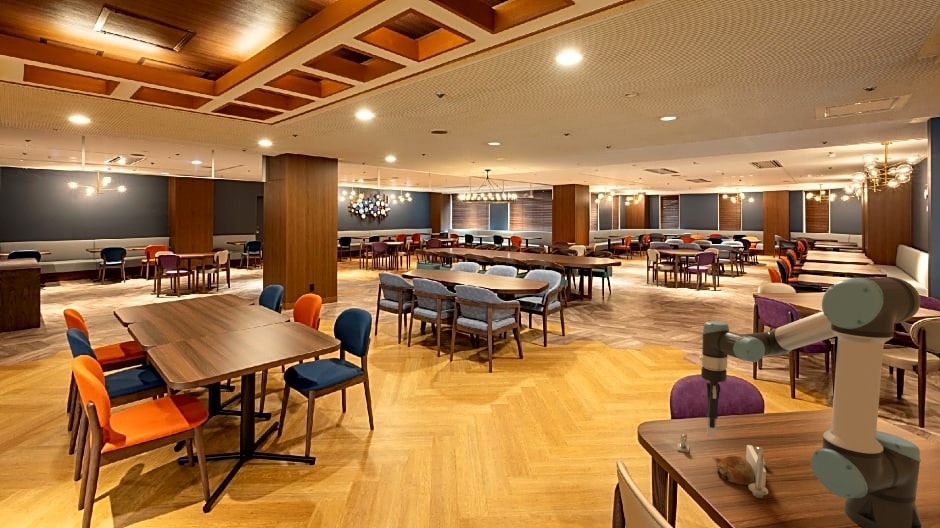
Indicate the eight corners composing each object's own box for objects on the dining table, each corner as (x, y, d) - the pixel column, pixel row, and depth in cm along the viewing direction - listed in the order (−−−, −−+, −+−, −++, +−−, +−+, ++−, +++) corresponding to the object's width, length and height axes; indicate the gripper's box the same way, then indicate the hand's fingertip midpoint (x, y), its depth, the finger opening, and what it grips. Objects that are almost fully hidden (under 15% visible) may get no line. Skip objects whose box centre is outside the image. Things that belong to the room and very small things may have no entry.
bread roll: (751, 499, 138) (766, 477, 136) (717, 480, 140) (731, 458, 138) (741, 481, 147) (755, 461, 146) (710, 463, 149) (723, 443, 148)
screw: (760, 502, 130) (744, 492, 135) (771, 498, 132) (755, 489, 137) (763, 457, 129) (746, 449, 133) (774, 454, 131) (758, 446, 135)
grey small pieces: (765, 467, 149) (766, 452, 148) (677, 450, 159) (678, 436, 159) (763, 460, 153) (764, 446, 152) (677, 445, 163) (678, 431, 163)
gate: (751, 459, 151) (752, 445, 151) (765, 486, 136) (766, 471, 135) (745, 458, 152) (746, 444, 151) (759, 485, 136) (760, 470, 136)
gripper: (700, 361, 164) (698, 426, 166) (702, 371, 152) (699, 441, 154) (724, 363, 161) (721, 429, 163) (728, 374, 149) (725, 445, 151)
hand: (711, 435), depth 159 cm, fingers closed
